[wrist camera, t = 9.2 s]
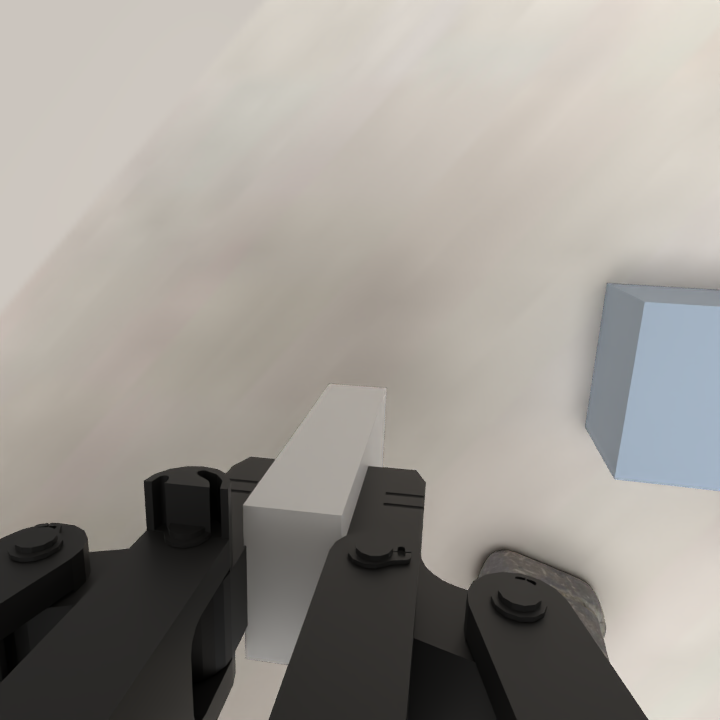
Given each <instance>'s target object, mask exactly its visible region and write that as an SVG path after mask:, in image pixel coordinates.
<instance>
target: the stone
mask: <svg viewBox="0 0 720 720" xmlns="http://www.w3.org/2000/svg"><path fill="white" fill-rule="evenodd" d="M498 572H509V573H520V574H524V575H527V576H531V577H534V578H536V579H540V580H541V581H543V582H545V583H546V584H548V585H550V586H552V587H553V588H555V589H557V591H558V592H559V593H560V594H561V595H562V596H563V597H564V598H565V599H566V600H567V601H568V602H569V603H570V605H571V606H572V608H573V609H574V611H575V612H576V614H577V615H578V617H579V618H580V620H581V621H582V623H583V624H584V626H585V627H586V629H587V630H588V631H589V633H590V634H591V636H592V637H593V639H594V640H595V642H596V643H597V645H598V646H599V648H600V649H601V651H602V652H603V654H604V655H605V657H606V658H607V659H608V655H607V651H606V647H605V643H604V639H603V638H604V636H605V633H606V624H605V619H604V615H603V611H602V608H601V605H600V602H599V600H598V598H597V596H596V594H595V592H594V591H593V589H592V588H591V587H590V585H588V584H587V583H586V582H584V581H582V580H581V579H578V578H576V577H574V576H572V575H570V574H567V573H565V572H563V571H560V570H557V569H555V568H553V567H551V566H548V565H546V564H544V563H540V562H538V561H535V560H533V559H531V558H529V557H526V556H523V555H521V554H519V553H516V552H512V551H509V550H506V551H504V550H501V551H499V552H497V551H495V552H494V553H493V554H491V555H490V556H489V557H488V558H487V560H486V561H485V563H484V565H483V567H482V569H481V571H480V574H479V576H478V578H480V577H482V576H484V575H485V574H491V573H498ZM608 661H609V659H608Z"/></svg>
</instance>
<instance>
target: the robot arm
mask: <svg viewBox="0 0 720 720" xmlns="http://www.w3.org/2000/svg"><path fill="white" fill-rule="evenodd" d="M386 391H387V388H381V387H368V386H354V385H341V384H329V385H328V386H327V388H326V389H325V390H324V392H323V393H322V395H321V396H320V397H319V399H318V400H317V402H316V403H315V404H314V406H313V407H312V409H311V410H310V412H309V413H308V414H307V416H306V417H305V419H304V420H303V421H302V423H301V424H300V426H299V427H298V428H297V430H296V431H295V433H294V434H293V435H292V437H291V438H290V440H289V441H288V442H287V444H286V445H285V447H284V448H283V449H282V451H281V452H280V454H279V455H278V457H277V458H276V459H268V458H258V457H249V458H247V459H245V460H244V461H242V462H240V463H238V464H236V465H234V466H232V467H231V469H230V470H229V471H228V472H227V473H226V474H225V473H223V472H222V471H220V470H218V469H213V468H208V467H197V466H187V467H180V468H173V469H169V470H166V471H163V472H160V473H157V474H154V475H153V476H151V477H149V478H148V479H146V480H144V492H145V507H146V523H147V531H146V532H145V533H144V534H143V535H142V536H141V537H140V538H139V539H138V540H137V541H136V542H135V543H134V544H133V545H132V546H131V547H130V548H129V549H123V550H110V551H98V552H89V549H88V539H87V536H86V533H85V531H84V530H82V529H80V528H78V527H77V526H75V525H67V524H60V523H50V524H48V523H46V524H39V525H36V526H34V527H30V528H26V529H22V530H20V531H18V532H15V533H13V534H10V535H8V536H6V537H4V538H2V539H0V720H217V719H218V717H219V714H220V712H221V710H222V708H223V706H224V703H225V701H226V699H227V697H228V695H229V692H230V690H231V688H232V686H233V682H234V677H235V650H236V648H237V646H238V644H239V642H240V640H241V638H242V636H243V634H244V632H245V648H246V659H250V660H257V661H264V662H271V663H278V664H285V665H288V667H287V670H286V673H285V676H284V678H283V681H282V684H281V687H280V690H279V692H278V695H277V698H276V701H275V704H274V706H273V709H272V712H271V715H270V717H269V720H648V718H647V717H646V715H645V714H644V713H643V711H642V710H641V708H640V707H639V705H638V704H637V702H636V701H635V699H634V698H633V696H632V695H631V693H630V692H629V690H628V689H627V687H626V686H625V685H624V683H623V682H622V680H621V679H620V677H619V676H618V674H617V673H616V671H615V670H614V668H613V667H612V665H611V664H610V662H609V661H608V659H607V658H606V657H605V655H604V654H603V652H602V651H601V649H600V648H599V646H598V645H597V643H596V642H595V640H594V639H593V637H592V636H591V634H590V633H589V631H588V630H587V629H586V627H585V626H584V624H583V623H582V621H581V620H580V618H579V617H578V615H577V614H576V612H575V611H574V609H573V608H572V606H571V605H570V603H569V602H568V601H567V600H566V599H565V598H564V597H563V596H562V595H561V594H560V593H559V592H558V591H557V589H555V588H553V587H552V586H550V585H548V584H546V583H545V582H543V581H541V580H540V579H536V578H534V577H531V576H527V575H524V574H520V573H509V572H498V573H491V574H485V575H484V576H482V577H480V578H478V579H476V580H475V581H473V583H472V584H471V586H470V588H469V589H468V590H465V589H462V588H459V587H456V586H454V585H452V584H449V583H447V582H445V581H443V580H441V579H440V578H438V577H437V576H435V575H434V574H433V573H432V572H430V571H429V570H428V569H427V568H426V566H425V565H424V563H423V561H422V559H421V544H422V529H423V514H424V500H425V485H426V482H425V481H424V480H423V479H422V477H421V476H420V475H419V473H418V472H417V471H416V470H406V469H395V468H385V467H383V454H384V433H385V412H386Z"/></svg>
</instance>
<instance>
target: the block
mask: <svg viewBox="0 0 720 720" xmlns="http://www.w3.org/2000/svg"><path fill="white" fill-rule="evenodd" d="M585 428H586V430H587V431H588V433H589V435H590V437H591V438H592V440H593V442H594V444H595V446H596V447H597V449H598V451H599V453H600V455H601V456H602V458H603V460H604V462H605V463H606V465H607V467H608V469H609V471H610V472H611V474H612V476H613V478H614V479H617V480H626V481H635V482H643V483H652V484H661V485H670V486H679V487H688V488H697V489H706V490H715V491H720V290H712V289H695V288H679V287H662V286H646V285H629V284H613V283H607V287H606V294H605V300H604V307H603V313H602V320H601V326H600V333H599V339H598V346H597V352H596V359H595V366H594V372H593V379H592V385H591V392H590V398H589V405H588V411H587V418H586V424H585Z"/></svg>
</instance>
